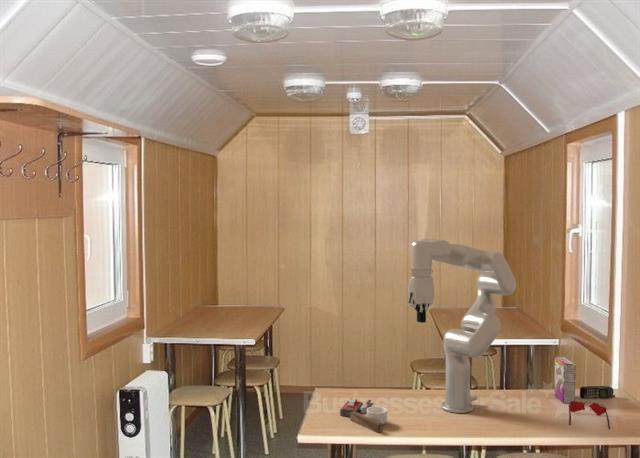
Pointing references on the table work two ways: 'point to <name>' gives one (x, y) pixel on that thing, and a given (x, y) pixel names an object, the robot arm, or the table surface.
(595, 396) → the mobile phone
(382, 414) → the teacup
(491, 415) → the table surface
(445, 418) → the table surface
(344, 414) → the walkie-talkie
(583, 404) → the glasses
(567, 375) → the candy bar box
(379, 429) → the stop bar
